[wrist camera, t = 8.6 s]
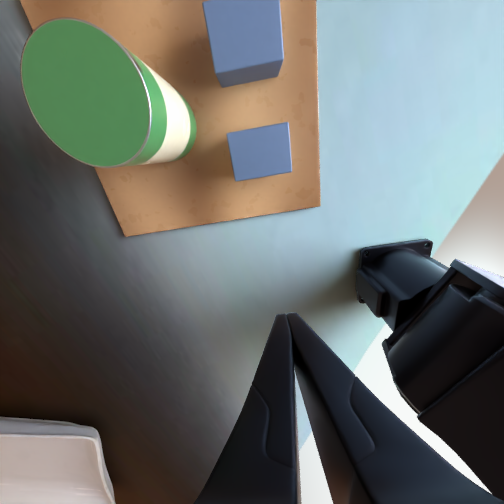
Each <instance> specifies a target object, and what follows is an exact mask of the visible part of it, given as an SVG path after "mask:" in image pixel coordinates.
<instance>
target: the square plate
mask: <svg viewBox="0 0 504 504" xmlns="http://www.w3.org/2000/svg"><path fill="white" fill-rule="evenodd" d="M0 504H116V503H115V500H114V491H113V487H112V483H111V480H110V478H109V475H108V472H107V469H106V465H105V461H104V457H103V451H102V444H101V440H100V436H99V433H98V431H97V430H96V429H95V428H93V427H90V426H83V425H78V424H75V423H71V422H64V421H52V420H37V419H24V418H9V417H0Z"/></svg>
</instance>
